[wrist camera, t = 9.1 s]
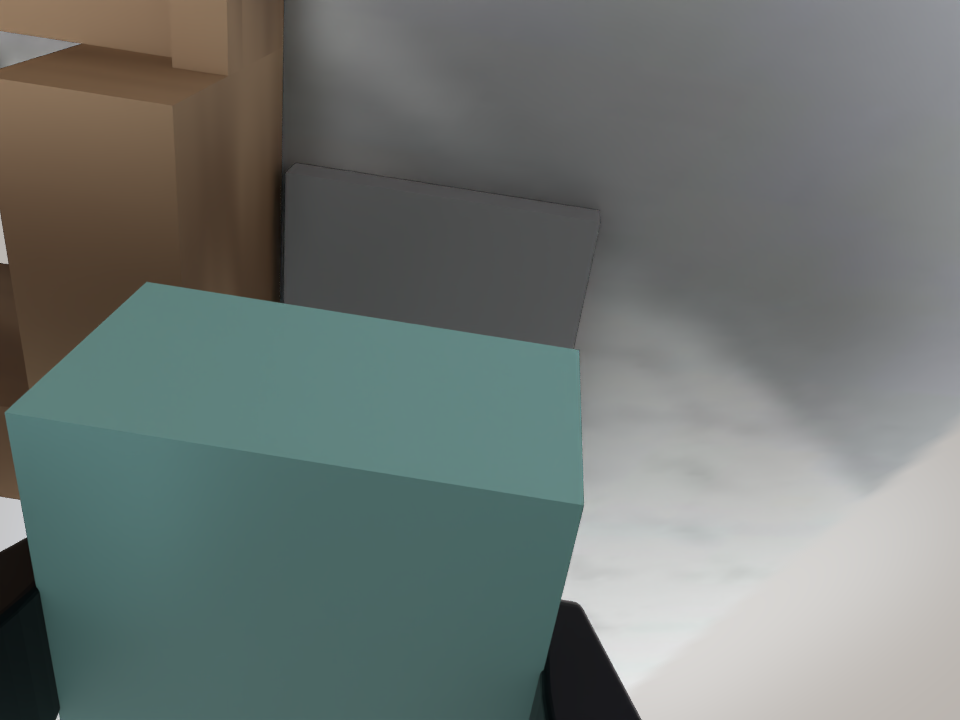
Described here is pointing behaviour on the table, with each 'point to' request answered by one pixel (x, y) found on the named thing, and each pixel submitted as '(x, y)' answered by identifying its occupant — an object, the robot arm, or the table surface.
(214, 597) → the teal rectangular block
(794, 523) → the table surface
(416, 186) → the mat
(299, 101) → the table surface
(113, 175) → the pocket board
